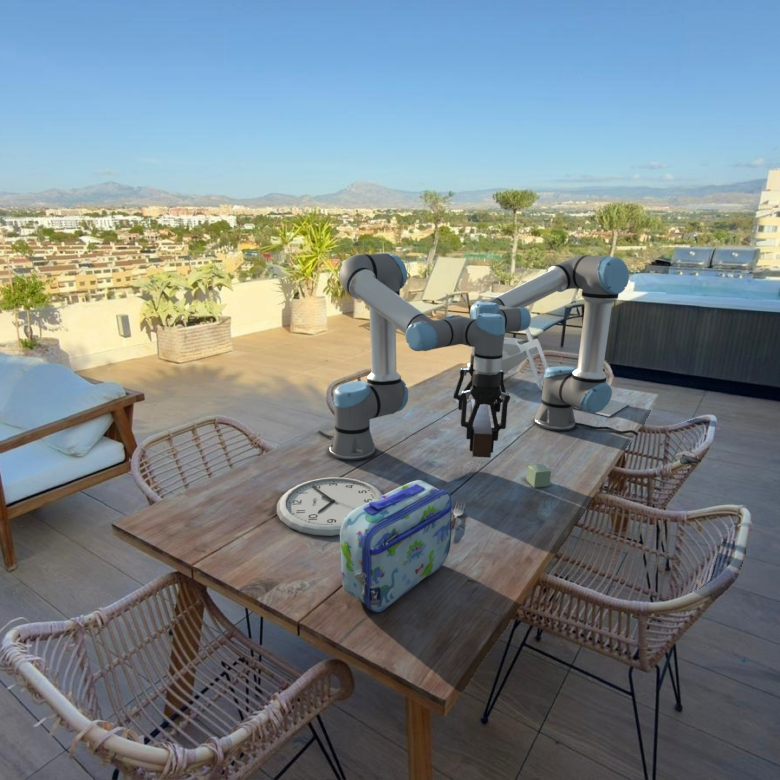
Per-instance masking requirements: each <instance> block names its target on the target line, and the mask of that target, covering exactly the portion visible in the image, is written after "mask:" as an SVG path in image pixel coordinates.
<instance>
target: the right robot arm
mask: <svg viewBox="0 0 780 780" xmlns="http://www.w3.org/2000/svg"><path fill="white" fill-rule="evenodd" d="M629 280H630V271H629V267H628V265H627V264H626V263H625V261H624V260H623V259H622V258H618V257H616V256H615V257H614V256H609V255H590V254H580V255H576V256H573V257H571V258H568V259H565V260H563V261H561V262H558V263H556V264H554V265H552V266H550V267H549V268H548V270H547V271H546V272H544V273H542V274H540V275H538V276H536V277H535V278H532V279H530V280H528V281H526V282H524V283H522V284H520V285H518V286H516V287H514V288H511V289H510V290H508V291H506V292H504V293H502V294H499V295H498V296H496V297H493V298H491V299H489V300H487V301H485V300H477V301H475V302H474V303H473V304H472V305H471V306H470V310H469V316H470V318H472V319H477V316H478V315H479V314H483V313H492V314H499V315H502V316H503V317H504V318H505V333H515V332H516V333H519V332H522V331H525V330H526V329H527V328H528V327H529V328H530V325H531V321H532V316H531V313H530V311H529V309H527V307H528V306H530V305H532V304H534V303H536V302H539V301H540V300H542V299H544V298H547V297H548V296H550V295H553V294H555V293H557V292H558V293H562V292H565V291H567V290H571V289H578V290H582V291H581V298H582V299H583V300H584V301H585V304H584V312H583V320H582V328H581V336H580V343H579V344H580V345H579V352H578V358H577V360H578V362H577V367H574V366H566V365H565V366H564V365H559V366H558V365H557V366H550V367H549V366H548V367H549V368H547V369H546V370H545V369H544V375H543V381H542V392H541V402H540V405H539V407H538V410H537V411H536V413H535V415H534V424H535V425H536V426H537V427H539V428H542V429H544V430H549V431H556V432H567V431H572V430H574V429H575V428H576V426H579V427H583V428H588V429H592V430H609V431H611V432H614V433H616V434H620V435H621V434H622V435H623V434H634V435H635V436H639V433H638V432H637V431H635V430H633V429H628V430H618V429H615V428H612V427H610V426H594V425H590V424H586V423H581V422H577V421H576V418H575V417H576V416H575V413H574V407H576V408H578V409H577V410H580V409H581V411H582V412H586V413H590V414H596V413H597V412H599V411H601V410H603V409H604V408H605V406H607V404H608V403H609V401H611V399H612V394H613V390H612V389H613V388H611V385H610V384H609V383H607V377H608V376H607V374H606V373H605V372H604V365H605V359H606V352H607V344H608V337H609V329H610V323H611V315H612V309H613V304H614V302H616V301H617V300H618V299H619V294H622V293H623V292H624V291H625V290H626V287H627V286H628V284H629ZM470 351H471V353H470V361H469V363H470V367H469V369H468V368H464V367H460V368H459V377H458V379H457V382H456V385H455V389H454V392H453V395H452V396H453V399H454V400H458V407H457V409H458V411H462V397H461V393H460V390H461V387H462V386H463V385H462V384H463V382H464V380H465V379H464V378H465V377H466V376H467V375H468V374H469V376H470V378H469V380H468V381H467V383H466V385H465V386H464V388H463V389H462V391H468V390H470V389H471V387H472V381H473V372H474V371H475V370H474V369H473V366H474V353H475V352H474V351H475V347H472V346H470ZM500 373H501V380H500V390H501V392H503V393H507V391H506V388H505V387H506V386H505V381H504V376H505V375H504V371H503V370H501V371H500ZM494 405H495V410H496V414H497V413H500V412H501V408H502V400H501V396H499V398H498V399H497V400H496V401H495V402H494ZM576 408H575V409H576Z"/></svg>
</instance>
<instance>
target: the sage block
mask: <svg viewBox="0 0 780 780" xmlns="http://www.w3.org/2000/svg"><path fill="white" fill-rule="evenodd" d="M551 474H552V470H551V469H550V468H548V467H547V466H546V465H545V464H544V463H538V464H528V465H527V471H526V481H527V482H528V483H529V485H531V487H532V488H535V489H536V488H543V487H545V488H546V487H550V484H551V476H552V475H551Z"/></svg>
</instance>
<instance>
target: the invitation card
mask: <svg viewBox="0 0 780 780" xmlns="http://www.w3.org/2000/svg"><path fill="white" fill-rule="evenodd" d="M628 406H629V404H627V403H623V402H618V401H614V400H610V401H609V403H608V404H607V406H605V408H604V409H603V410H601V411H599V412H597V413H595V414H596V415H600V416H604V417H608V418H609V417H611V416H613V415H614V414H616V413H617V412H619V411H621V410H623V409H624V408H626V407H628ZM573 409H575V410H581V409H578V408H576V407H573ZM581 411H582V410H581Z"/></svg>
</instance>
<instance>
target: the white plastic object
mask: <svg viewBox="0 0 780 780" xmlns="http://www.w3.org/2000/svg"><path fill="white" fill-rule="evenodd" d="M524 331H525V334H526V338H527V342H524V343H522V344H521V343H519V342H518V341H517V338H516V337H512V338H507V339H504V343H503V351H502V354H503V355H502V369H501V370H503V371H504V376H506V375H508V374H509V371H511V370H513V368H515V367H516V366H518V365H519V364H521V363H522V362H524V361H525V360H527V359H528V363H529V366H530V368H531V372H532V375H533V378H534V381H535V384H536V386H537V387H538V388H539V390H540V391H542V390H543V384H542V382H541V379H540V376H539V372H538V370H537V366H536V364H535V361H534V358H533V355H535V354H537V353H538V354H539V357H540V360H541V363H542V367H543V369H544V371H545V370H546V369H547V368H549V365H548V361H547V359H546V356H545V352H544V350H543V348H542V345H541V342H540V339H538V338H534V339H533V336H532V334H531V330H530V326H529V327H528V328H527V329H526V330H524ZM466 366H467V369H469V367H470V362H468V363H467V364H466Z"/></svg>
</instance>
